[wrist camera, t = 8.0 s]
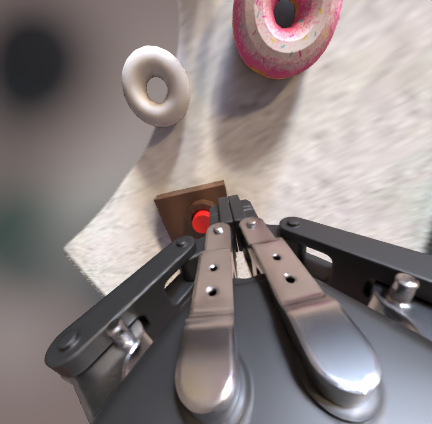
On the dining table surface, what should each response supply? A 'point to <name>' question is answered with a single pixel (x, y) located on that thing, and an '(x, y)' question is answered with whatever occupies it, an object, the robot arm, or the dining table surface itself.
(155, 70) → the donut
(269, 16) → the donut
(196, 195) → the switch block
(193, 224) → the light button
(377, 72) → the dining table surface
